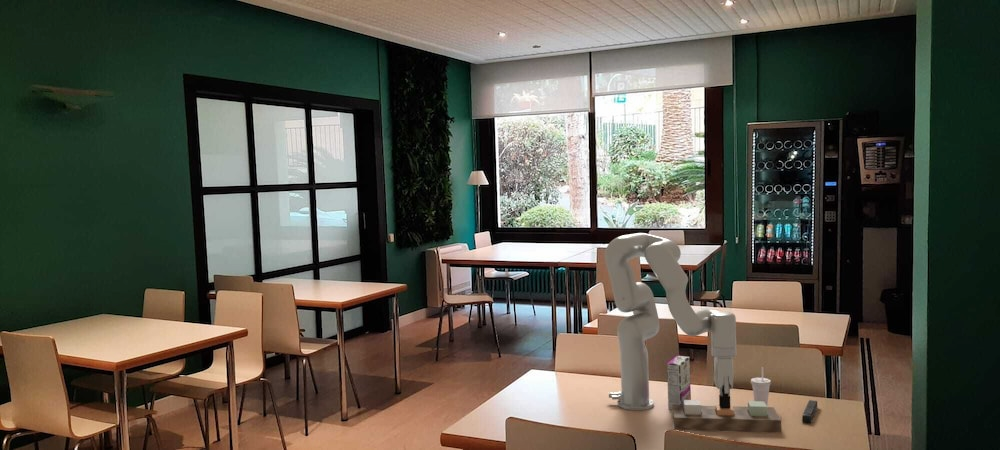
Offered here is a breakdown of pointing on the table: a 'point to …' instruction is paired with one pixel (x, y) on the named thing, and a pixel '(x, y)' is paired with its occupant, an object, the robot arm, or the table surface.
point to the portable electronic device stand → (809, 412)
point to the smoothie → (761, 388)
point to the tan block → (724, 410)
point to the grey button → (692, 407)
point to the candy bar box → (678, 381)
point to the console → (726, 420)
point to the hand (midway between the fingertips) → (724, 407)
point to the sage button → (757, 408)
